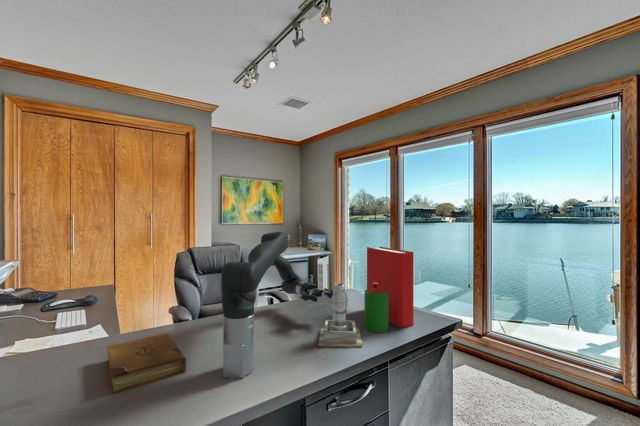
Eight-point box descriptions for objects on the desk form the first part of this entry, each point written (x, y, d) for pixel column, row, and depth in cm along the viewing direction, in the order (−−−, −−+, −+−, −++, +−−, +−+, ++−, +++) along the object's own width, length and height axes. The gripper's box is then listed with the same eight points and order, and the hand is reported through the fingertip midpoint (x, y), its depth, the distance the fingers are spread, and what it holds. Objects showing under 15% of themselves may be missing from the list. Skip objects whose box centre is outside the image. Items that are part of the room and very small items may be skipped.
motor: (387, 325, 133) (387, 279, 133) (390, 333, 124) (390, 284, 124) (364, 324, 134) (364, 279, 134) (365, 332, 125) (365, 283, 125)
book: (366, 309, 155) (366, 247, 156) (379, 307, 158) (380, 246, 159) (400, 327, 130) (400, 253, 130) (415, 325, 133) (415, 252, 134)
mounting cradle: (362, 347, 110) (362, 334, 110) (318, 346, 111) (318, 333, 111) (359, 330, 126) (359, 319, 126) (320, 329, 127) (321, 318, 127)
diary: (185, 374, 92) (186, 355, 92) (111, 397, 81) (111, 375, 81) (169, 348, 110) (169, 332, 110) (106, 363, 99) (106, 345, 99)
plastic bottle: (334, 340, 115) (334, 287, 115) (329, 333, 121) (329, 283, 121) (350, 338, 116) (350, 286, 117) (344, 331, 123) (344, 282, 123)
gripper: (293, 283, 138) (310, 291, 125) (319, 280, 146) (339, 287, 132) (292, 300, 138) (310, 309, 124) (319, 296, 146) (339, 304, 132)
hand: (325, 298), depth 128 cm, fingers open, 8 cm apart
